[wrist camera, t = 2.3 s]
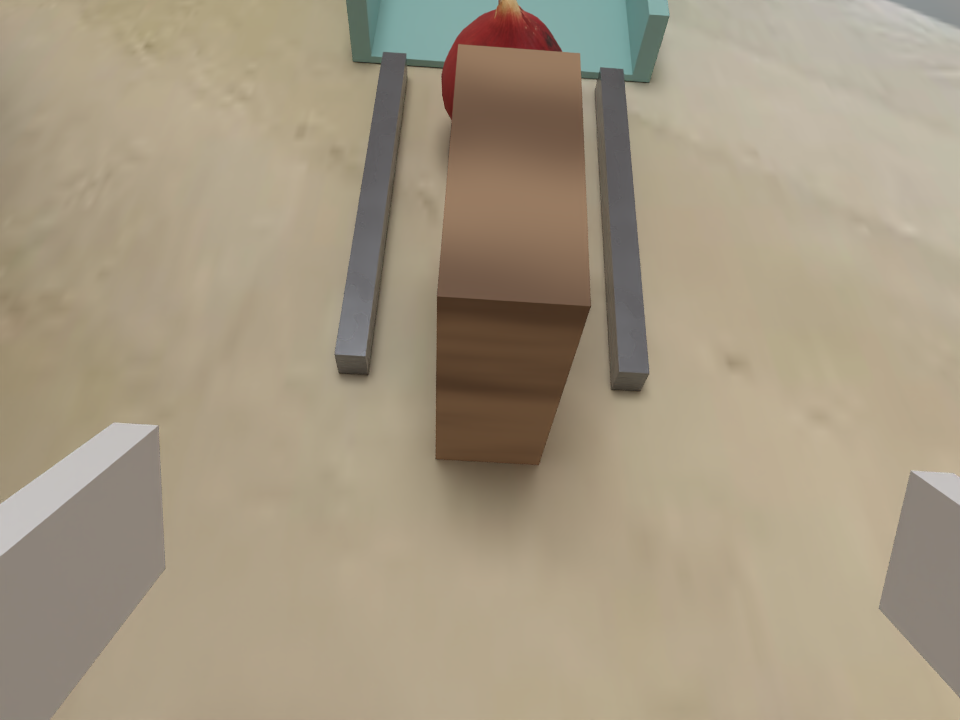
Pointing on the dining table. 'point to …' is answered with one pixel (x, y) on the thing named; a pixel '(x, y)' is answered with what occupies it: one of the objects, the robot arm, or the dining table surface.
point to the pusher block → (510, 253)
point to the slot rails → (616, 224)
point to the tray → (557, 3)
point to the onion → (497, 39)
